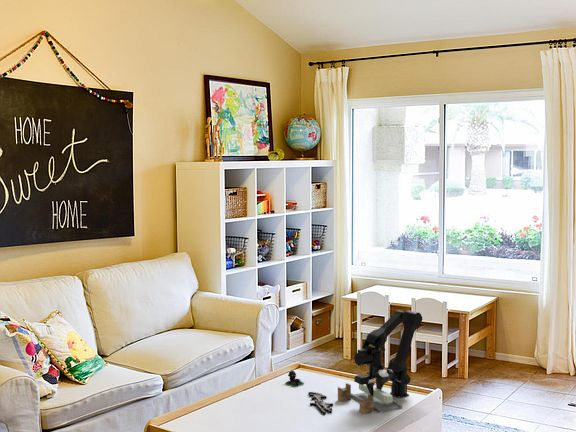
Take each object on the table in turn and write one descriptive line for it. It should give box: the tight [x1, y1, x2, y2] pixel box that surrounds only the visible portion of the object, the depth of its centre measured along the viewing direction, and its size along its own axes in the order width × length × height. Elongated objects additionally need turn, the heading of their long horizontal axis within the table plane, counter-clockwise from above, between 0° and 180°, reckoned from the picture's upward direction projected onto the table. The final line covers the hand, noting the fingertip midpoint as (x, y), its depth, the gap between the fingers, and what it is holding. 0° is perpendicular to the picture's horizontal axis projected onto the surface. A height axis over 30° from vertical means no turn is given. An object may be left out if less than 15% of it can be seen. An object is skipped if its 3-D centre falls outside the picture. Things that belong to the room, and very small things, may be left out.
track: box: [351, 392, 403, 414], centre depth 321 cm, size 12×24×2 cm, turn 27°
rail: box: [358, 384, 394, 403], centre depth 320 cm, size 22×3×3 cm, turn 27°
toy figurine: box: [284, 370, 305, 388], centre depth 348 cm, size 10×10×6 cm
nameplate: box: [308, 391, 334, 416], centre depth 319 cm, size 28×2×10 cm
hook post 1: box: [337, 382, 352, 403], centre depth 324 cm, size 5×3×7 cm, turn 117°
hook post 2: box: [359, 395, 374, 415], centre depth 308 cm, size 5×3×7 cm, turn 117°
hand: (375, 396), depth 321 cm, fingers closed on rail, 3 cm apart
